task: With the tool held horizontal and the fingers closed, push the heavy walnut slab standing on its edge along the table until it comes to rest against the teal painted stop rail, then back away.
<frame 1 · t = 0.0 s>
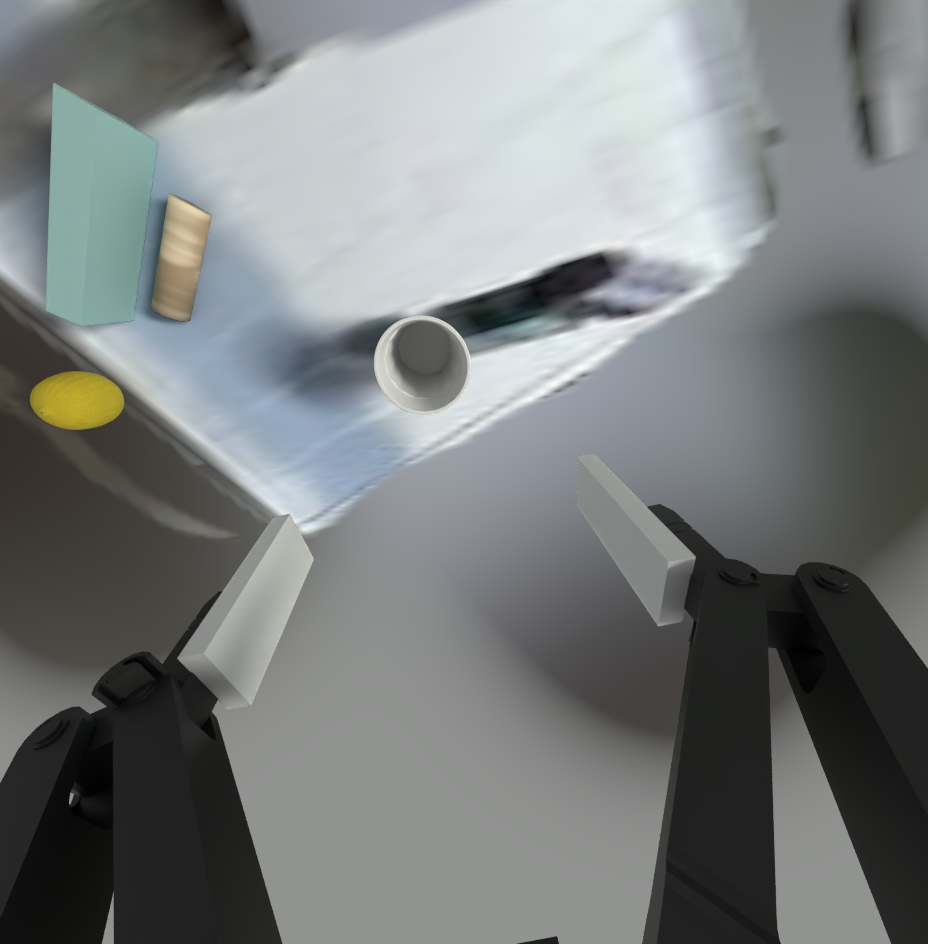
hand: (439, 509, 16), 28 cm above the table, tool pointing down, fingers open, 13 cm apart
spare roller: (190, 263, 33), on the table
cup: (424, 346, 39), on the table
stop rail: (129, 231, 32), on the table
lemon: (115, 389, 38), on the table
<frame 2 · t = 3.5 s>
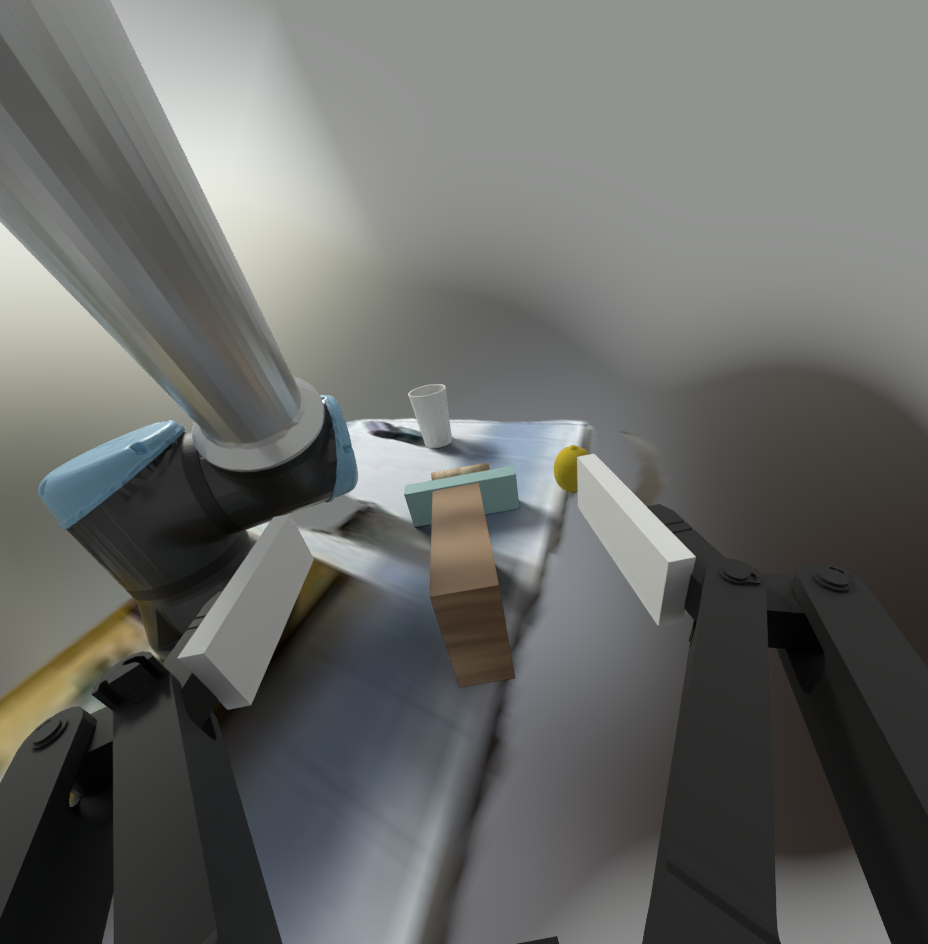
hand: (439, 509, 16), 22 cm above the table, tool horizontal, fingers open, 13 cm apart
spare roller: (459, 469, 58), point 3 cm above the table, tilted 172°
cup: (438, 442, 77), on the table
slab: (478, 615, 36), on the table
stop rail: (466, 512, 52), on the table
lemon: (573, 493, 52), on the table
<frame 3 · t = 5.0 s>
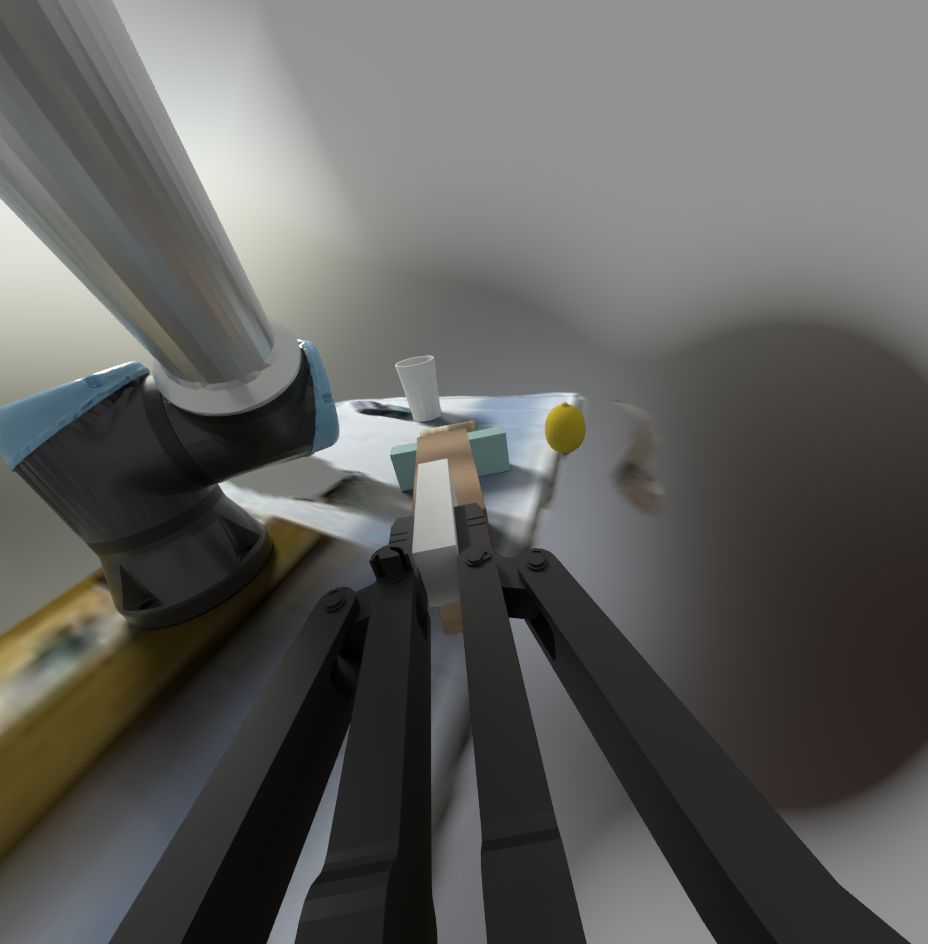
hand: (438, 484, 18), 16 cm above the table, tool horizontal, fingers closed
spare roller: (450, 440, 62), on the table, tilted 7°
cup: (427, 416, 75), on the table
slab: (467, 567, 34), on the table
stop rail: (455, 476, 50), on the table
lemon: (565, 455, 50), on the table
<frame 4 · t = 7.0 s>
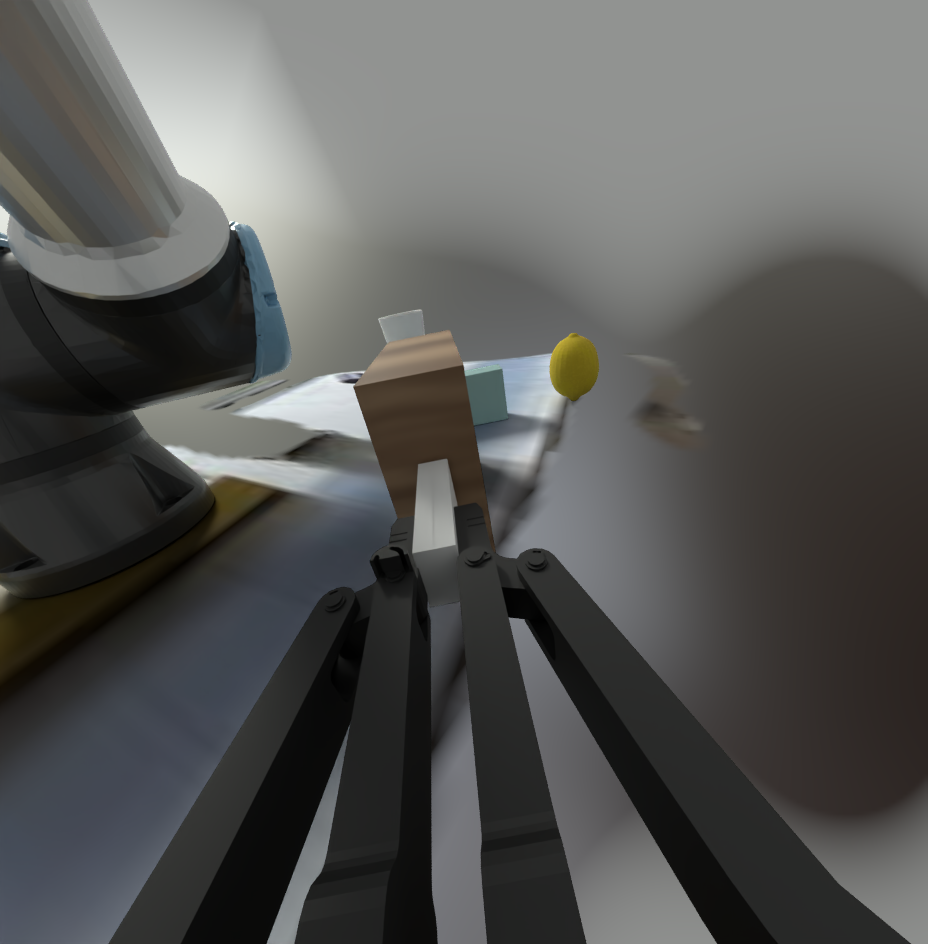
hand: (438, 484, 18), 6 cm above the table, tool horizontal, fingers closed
cup: (416, 381, 67), on the table
slab: (451, 505, 27), on the table, touching gripper
stop rail: (442, 428, 42), on the table
lemon: (574, 402, 42), on the table
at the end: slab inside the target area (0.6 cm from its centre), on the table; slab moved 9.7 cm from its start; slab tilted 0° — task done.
